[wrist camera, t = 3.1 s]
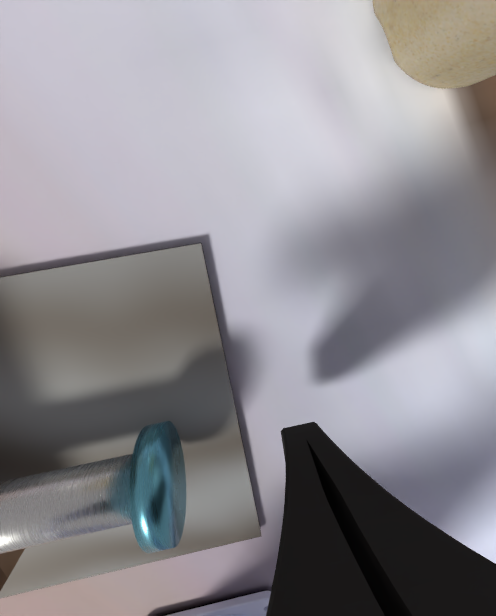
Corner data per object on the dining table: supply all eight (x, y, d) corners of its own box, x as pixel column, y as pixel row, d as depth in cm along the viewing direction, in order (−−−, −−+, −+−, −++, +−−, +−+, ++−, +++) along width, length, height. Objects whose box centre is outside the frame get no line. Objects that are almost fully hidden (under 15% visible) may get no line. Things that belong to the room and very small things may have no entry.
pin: (189, 472, 13) (179, 577, 9) (-79, 531, 12) (-213, 672, 8) (168, 400, 12) (146, 487, 8) (-133, 461, 11) (-318, 589, 7)
